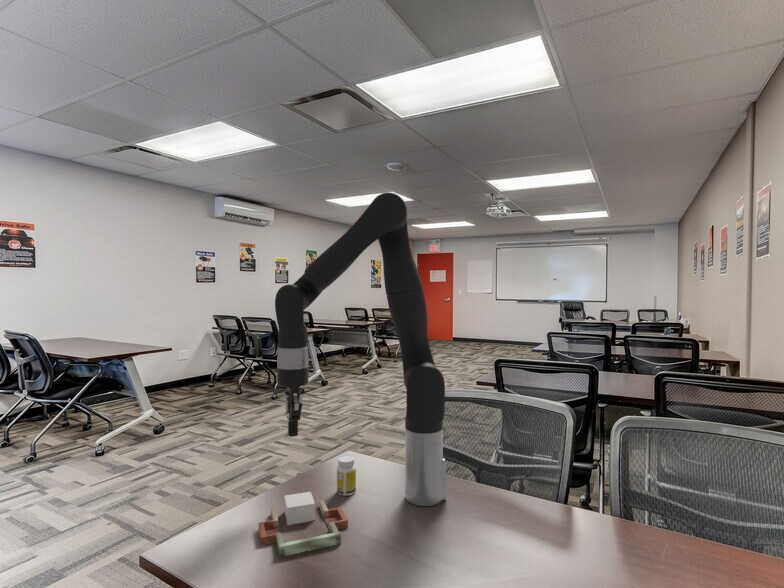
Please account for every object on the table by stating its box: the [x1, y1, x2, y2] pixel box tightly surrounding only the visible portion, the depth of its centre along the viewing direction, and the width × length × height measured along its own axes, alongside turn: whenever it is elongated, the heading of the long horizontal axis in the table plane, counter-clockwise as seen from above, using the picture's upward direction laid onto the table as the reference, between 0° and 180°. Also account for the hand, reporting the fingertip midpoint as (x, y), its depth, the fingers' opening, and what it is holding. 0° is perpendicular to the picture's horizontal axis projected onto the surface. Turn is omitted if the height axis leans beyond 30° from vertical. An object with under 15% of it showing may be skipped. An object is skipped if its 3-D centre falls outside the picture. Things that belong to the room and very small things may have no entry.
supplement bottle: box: [336, 455, 357, 497], centre depth 109 cm, size 5×5×8 cm
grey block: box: [284, 491, 316, 526], centre depth 97 cm, size 6×6×4 cm
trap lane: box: [258, 498, 349, 558], centre depth 92 cm, size 18×17×2 cm
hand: (292, 435), depth 106 cm, fingers closed
